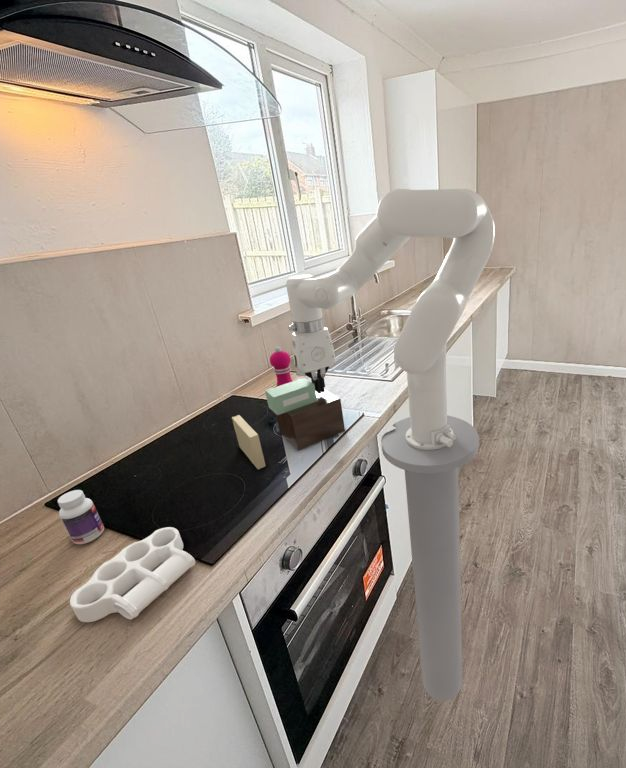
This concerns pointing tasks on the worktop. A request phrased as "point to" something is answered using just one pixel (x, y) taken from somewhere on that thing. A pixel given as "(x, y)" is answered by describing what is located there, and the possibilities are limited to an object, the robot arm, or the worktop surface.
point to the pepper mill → (281, 366)
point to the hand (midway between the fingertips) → (319, 390)
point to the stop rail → (249, 441)
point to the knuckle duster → (133, 577)
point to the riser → (312, 421)
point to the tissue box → (291, 396)
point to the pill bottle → (80, 517)
